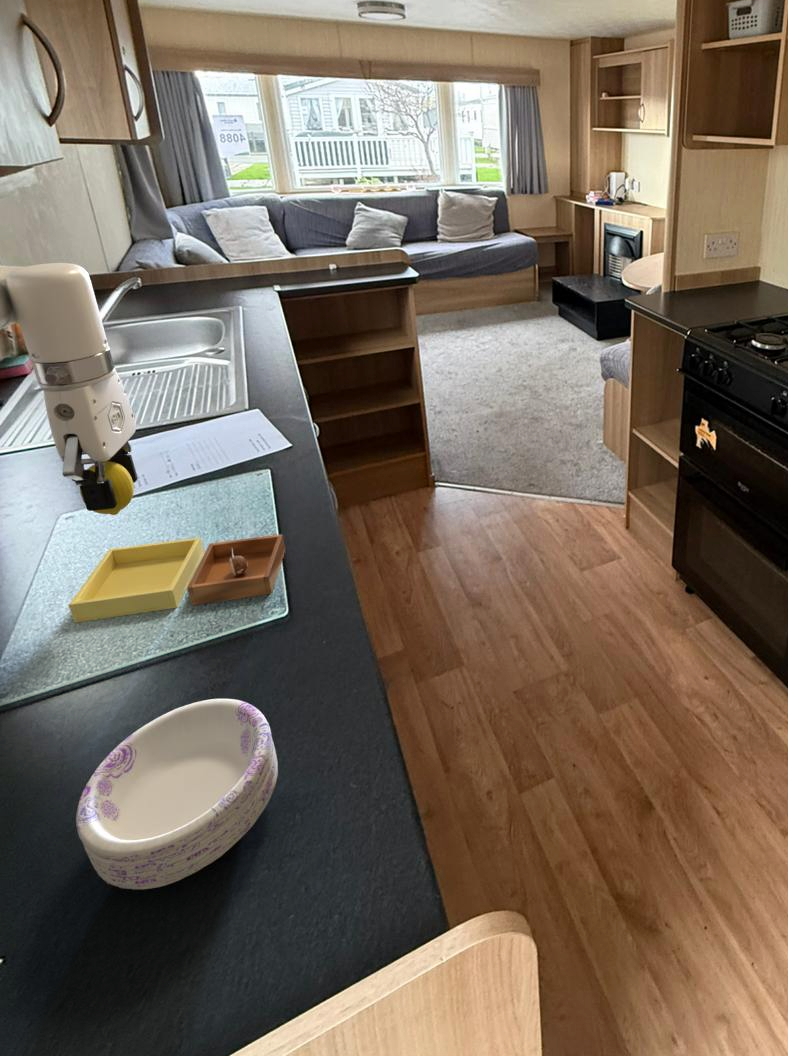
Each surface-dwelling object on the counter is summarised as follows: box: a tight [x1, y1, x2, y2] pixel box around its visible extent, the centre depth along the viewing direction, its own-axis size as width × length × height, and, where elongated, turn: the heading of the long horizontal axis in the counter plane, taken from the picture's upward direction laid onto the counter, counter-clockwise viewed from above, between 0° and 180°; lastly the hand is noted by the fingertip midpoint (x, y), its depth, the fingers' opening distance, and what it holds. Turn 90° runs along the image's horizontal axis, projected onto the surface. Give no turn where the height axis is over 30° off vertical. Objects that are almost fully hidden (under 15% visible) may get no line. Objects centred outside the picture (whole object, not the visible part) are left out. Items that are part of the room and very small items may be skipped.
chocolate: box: [230, 549, 248, 576], centre depth 94 cm, size 3×2×4 cm
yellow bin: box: [68, 537, 205, 624], centre depth 93 cm, size 12×12×3 cm
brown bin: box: [186, 533, 287, 606], centre depth 95 cm, size 10×10×3 cm
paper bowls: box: [75, 698, 279, 891], centre depth 61 cm, size 15×15×8 cm
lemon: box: [79, 461, 135, 516], centre depth 85 cm, size 6×6×8 cm
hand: (113, 493), depth 85 cm, fingers closed on lemon, 5 cm apart
